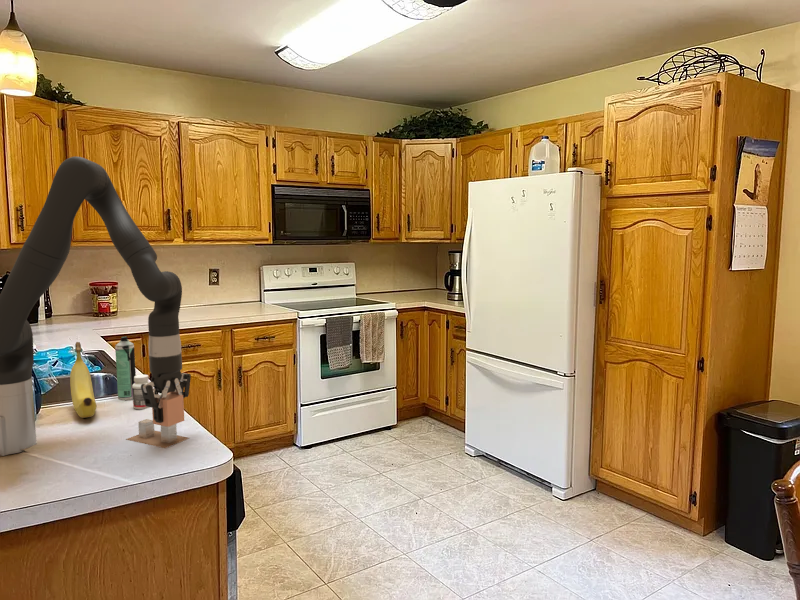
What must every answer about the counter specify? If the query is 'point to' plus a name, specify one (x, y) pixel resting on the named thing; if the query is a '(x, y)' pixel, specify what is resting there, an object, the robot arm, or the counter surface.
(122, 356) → the spray can
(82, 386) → the banana
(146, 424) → the stub post
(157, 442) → the walnut board
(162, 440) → the tall post
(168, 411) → the salmon pink cube
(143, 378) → the pill bottle
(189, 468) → the counter surface
